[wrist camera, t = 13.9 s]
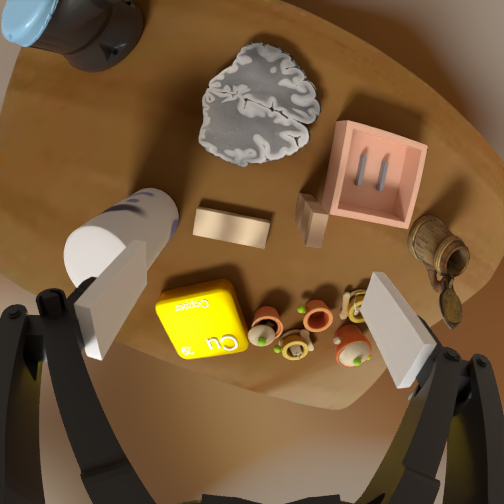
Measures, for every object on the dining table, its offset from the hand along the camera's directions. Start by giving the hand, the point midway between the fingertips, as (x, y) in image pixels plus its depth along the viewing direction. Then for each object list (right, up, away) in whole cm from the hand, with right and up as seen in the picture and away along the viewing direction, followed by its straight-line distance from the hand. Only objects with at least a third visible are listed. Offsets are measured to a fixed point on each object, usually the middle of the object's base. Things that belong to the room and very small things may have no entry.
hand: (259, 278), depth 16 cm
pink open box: (+19, +15, +28) cm, 37 cm away
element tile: (-10, -11, +40) cm, 43 cm away
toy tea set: (+12, -13, +41) cm, 44 cm away
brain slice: (+1, +24, +25) cm, 34 cm away
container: (-18, +8, +32) cm, 37 cm away
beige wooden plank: (-4, +6, +33) cm, 33 cm away
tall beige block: (+8, +9, +31) cm, 33 cm away
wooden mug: (+33, +2, +33) cm, 47 cm away
